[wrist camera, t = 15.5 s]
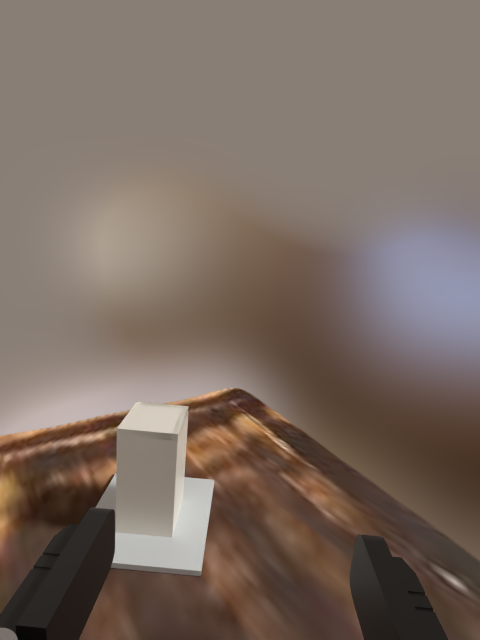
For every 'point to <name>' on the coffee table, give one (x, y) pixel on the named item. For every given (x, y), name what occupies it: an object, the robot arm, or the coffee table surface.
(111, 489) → the grey mat
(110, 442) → the coffee table surface
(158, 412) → the cream box
